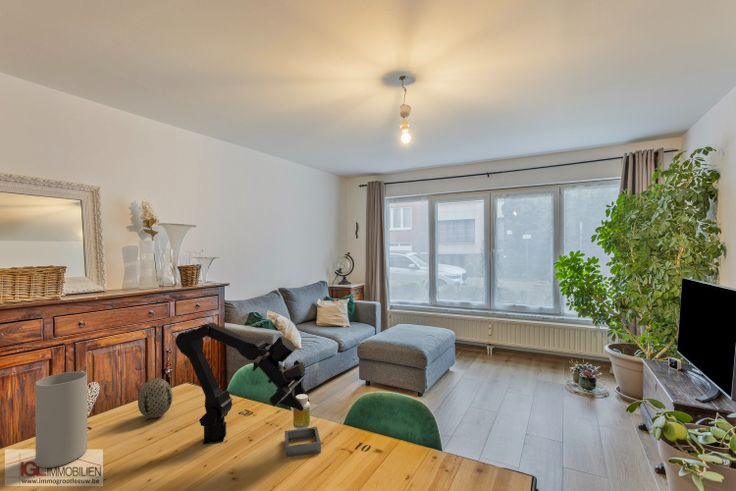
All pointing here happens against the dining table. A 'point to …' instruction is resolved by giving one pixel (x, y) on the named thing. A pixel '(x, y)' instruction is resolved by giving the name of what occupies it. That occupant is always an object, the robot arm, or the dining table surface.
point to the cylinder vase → (61, 418)
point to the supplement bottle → (302, 413)
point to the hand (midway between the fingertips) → (305, 406)
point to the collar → (302, 448)
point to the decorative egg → (155, 398)
